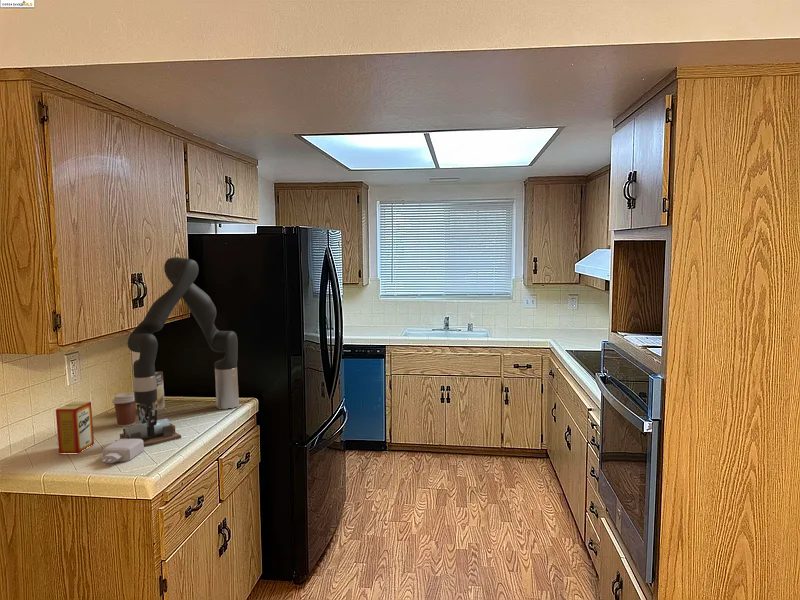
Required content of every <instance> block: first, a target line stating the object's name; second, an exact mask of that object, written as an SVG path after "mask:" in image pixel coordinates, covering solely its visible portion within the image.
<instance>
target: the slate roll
mask: <svg viewBox="0 0 800 600" xmlns="http://www.w3.org/2000/svg"><path fill="white" fill-rule="evenodd" d="M170 423H171V422H170V420H169V419H168V418H166V417H165V418H163V419H157V425H155V426H154V433H155V435H158V434H162V433H163V427H164V426H168V425H170ZM124 429H125V435H126V436H127V438H128V439H131V434H132V433H137V432H141V438H145V437H148V435H147V424H146V423H143V424H142V423H140V424H134V425H132V426H127V427H124Z"/></svg>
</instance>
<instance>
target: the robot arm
mask: <svg viewBox="0 0 800 600" xmlns="http://www.w3.org/2000/svg"><path fill="white" fill-rule="evenodd" d="M199 270H200V269H199V264H198V263H197V261H196V260H194V259H191V258H184V257H175V256H174V257H173V256H172V257H170V258H167V260H166V261H165V263H164V267H163V271H164V273H165V277H166V278H167V280H168V281H169V282H170V283H171V284H172V286H171V287H170V288H169V289H168V290H167V291H166V292H164V294H162V295H161V296H159V297H158V298H157V299H156V300H155V301H154V302H153V303H152V305H151V306H150V307H149V309H148V311H147V313H146V314H145V316H144V318H143V320H142V321H141V322H140V323H139V324H138V325H137V326H136V327H135V328H134V330H132V332H131V333H130V335H129V336H128V339H127V342H126V343H127V347H128V349H129V351H131V352H134V353H138V354H139V358H138V359H136V360H134V362H133V364H132V368H133V369H132V370H133V371H132V372H133V393H134V399H135V402H136V409H137V410H136V411H137V418H138V421H139V422H140V424H143V423H146V424H147V435H148V437H152V436H154V435H155V433H154V426H155V425H157V420H158V419H157V418H158V412H157V409H155V410H154V406H153V402H154V401H156V400H157V383H156V377H155V372H156V366H155V363H156V359H157V355H158V354H157V353H158V349H159V348H158V347H159V343H158V340H157V338H156V336H155V335H154V333H156V332H159V331H161V330H162V329H163V327H165V324H166V322H167V320H168V319H169V317H170V315H171V313H172V311H173V310H174V308H175V307H176V305H177V304H178V303H179V301H180V300H181V299H182V300H183V301H184V303H185V304H186V305H187V307H188V309H189V311H190V314H191V315H192V316H193V317H194V319H195V320H196V322H197V324H198V326H199V327H200V328H201V331H202V333H203V335H204V337H205V340H206V341H207V344H208V346H209V347H210V349H211V351H213V352H215V353H224V357H223V358H221V359H219V360H217V361H215V362H214V376H215V377H214V379H215V400H216V408H217V409H218V408H220V409H219V410H229V409H228V408H232V409H234V407H236V408H238V407H239V406H240V405H239V404H240V403H239V402H240V400H239V381H238V360H239V359H238V358H239V357H238V355H239V354H238V353H239V351H238V350H239V349H238V348H239V346H238V345H239V342H238V336H237V335H238V334H237V333H236V332H235V331H233V330H219V329H217V327H216V325H215V320H216V318H217V308H216V305H215V304H214V302H213V301H212V299H211V297H210V296H209V295H208V293H206V292H205V291H204V290H203V289H201V288H200V287H199V286H198V285H196V284H195V283H194V282H195V281H196V279H197V277H198V275H199ZM237 406H238V407H237ZM226 408H227V409H226Z"/></svg>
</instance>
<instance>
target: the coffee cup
mask: <svg viewBox="0 0 800 600" xmlns="http://www.w3.org/2000/svg"><path fill="white" fill-rule="evenodd" d="M111 401H112V403H113V404H114V410H115V416H116V424H117V427H119V426H127V427H129V425H132V424H134V425H136V411H137V410H136V409H137V403H136V402H135V399H134V392H122V393H118V394H116V395H114V398H113V399H112V400H111ZM132 426H133V425H132Z"/></svg>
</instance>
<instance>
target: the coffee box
mask: <svg viewBox="0 0 800 600" xmlns="http://www.w3.org/2000/svg"><path fill="white" fill-rule="evenodd" d="M155 377H156V383H157V400H156V401H154V402H153V406H154V410H155V409H157V411H158V412H159V411H161V410H163V409H164V408H165V407H166V406H165V388H164V371H155Z"/></svg>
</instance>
